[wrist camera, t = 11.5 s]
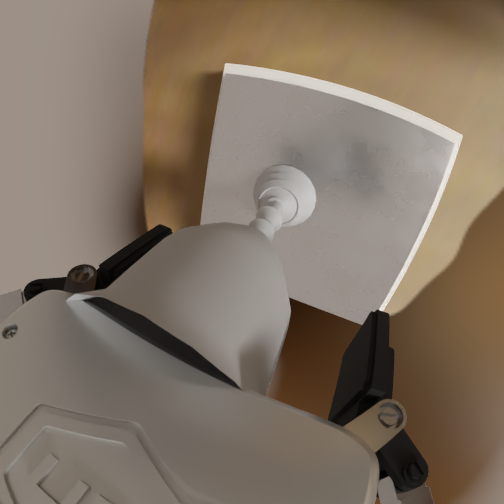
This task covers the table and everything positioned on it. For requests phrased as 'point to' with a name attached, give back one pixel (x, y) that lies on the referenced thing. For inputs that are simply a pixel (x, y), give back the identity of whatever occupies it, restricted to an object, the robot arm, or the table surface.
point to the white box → (327, 186)
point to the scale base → (362, 99)
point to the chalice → (218, 286)
